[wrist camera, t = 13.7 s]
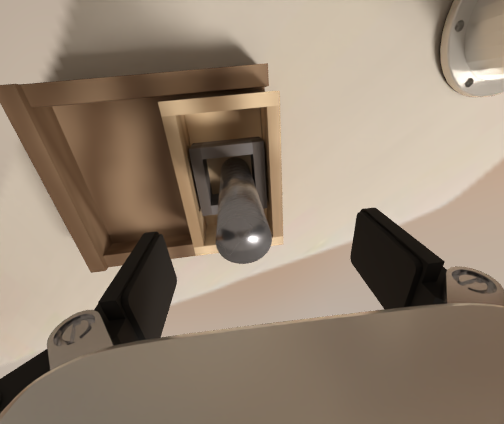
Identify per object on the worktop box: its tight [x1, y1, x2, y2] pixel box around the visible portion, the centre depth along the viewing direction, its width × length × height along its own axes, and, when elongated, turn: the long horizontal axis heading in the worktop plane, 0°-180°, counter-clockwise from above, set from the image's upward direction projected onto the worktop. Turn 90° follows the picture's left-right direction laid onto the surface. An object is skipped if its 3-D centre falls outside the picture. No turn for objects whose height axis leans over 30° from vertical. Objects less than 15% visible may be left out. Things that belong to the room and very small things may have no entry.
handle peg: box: [216, 157, 272, 264], centre depth 18 cm, size 3×3×13 cm
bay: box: [0, 63, 269, 273], centre depth 23 cm, size 21×18×4 cm
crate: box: [158, 91, 283, 256], centre depth 22 cm, size 9×14×5 cm, turn 5°
